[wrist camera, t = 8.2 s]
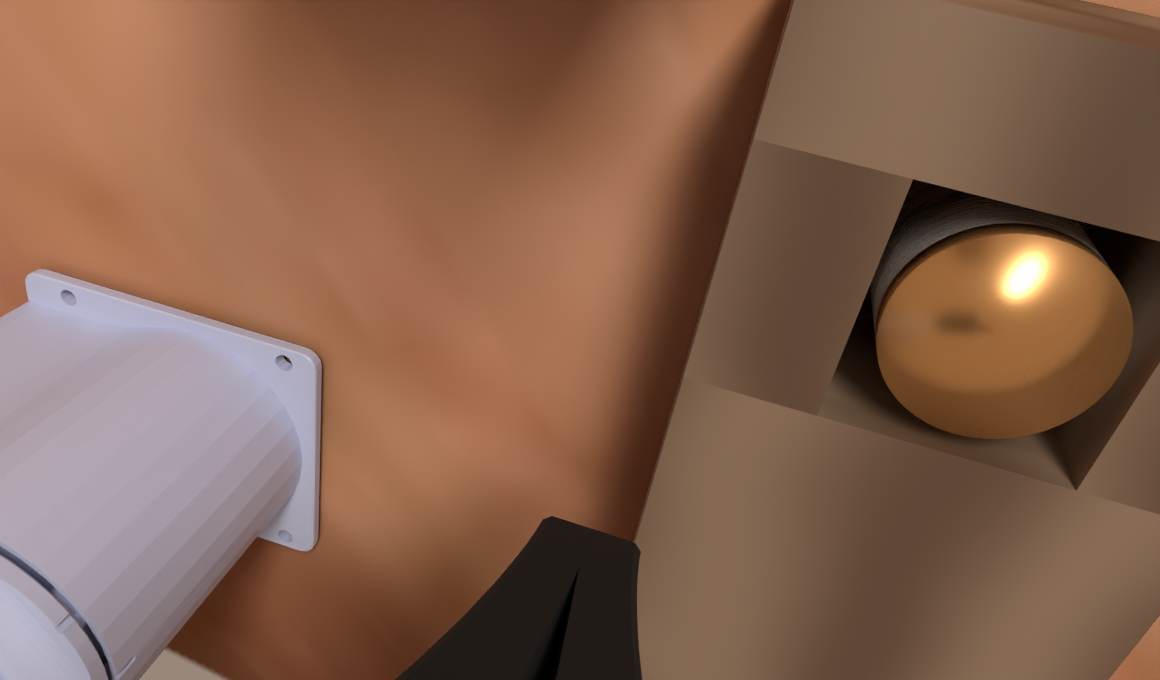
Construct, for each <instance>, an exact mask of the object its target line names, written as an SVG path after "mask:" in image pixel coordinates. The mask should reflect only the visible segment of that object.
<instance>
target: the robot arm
mask: <svg viewBox="0 0 1160 680" xmlns="http://www.w3.org/2000/svg"><path fill="white" fill-rule="evenodd" d="M25 284H26V290H27V295H28V300H29V302H27V303H25V304H23V305H21V306H20V307H18V308H16V309H14V310H13V311H11V312H9V313H7V314H5V315H4V316H2V317H0V680H139V679H140V678H141V676H142V675H143V674H144V673H145V672H146V670H147V669H148V668H149V667H150V666H151V664H152V663H153V662H154V661H155V660H156V658H157V657H158V656H159V655H160V654H161V652H162V651H163V650H164V649H165V647H166V646H167V645H168V644H169V643H170V641H171V640H172V639H173V638H174V637H175V635H176V634H177V633H178V632H179V631H180V629H181V628H182V627H183V626H184V624H185V623H186V622H187V621H188V620H189V618H190V617H191V616H192V615H193V614H194V612H195V611H196V610H197V609H198V608H199V606H200V605H201V604H202V603H203V602H204V600H205V599H206V598H207V597H208V595H209V594H210V593H211V592H212V591H213V589H214V588H215V587H216V586H217V585H218V583H219V582H220V581H221V580H222V579H223V577H224V576H225V575H226V574H227V572H228V571H229V570H230V569H231V568H232V566H233V565H234V564H235V563H236V562H237V560H238V559H239V558H240V557H241V556H242V554H243V553H244V552H245V551H246V550H247V548H248V547H249V546H250V545H251V543H252V542H253V541H254V540H255V539H256V537H260V538H263V539H266V540H269V541H272V542H275V543H278V544H281V545H284V546H287V547H290V548H293V549H296V550H299V551H310V550H311V549H312V548H313V547H314V546H315V544H316V543H317V541H318V528H319V479H320V431H321V383H322V365H321V360H320V359H319V357H318V355H317V354H316V353H314V352H313V351H312V350H310V349H308V348H306V347H303V346H299V345H296V344H293V343H289V342H286V341H283V340H279V339H276V338H272V337H269V336H266V335H262V334H259V333H256V332H252V331H249V330H246V329H242V328H239V327H236V326H232V325H229V324H226V323H222V322H219V321H216V320H212V319H209V318H206V317H202V316H199V315H196V314H192V313H189V312H186V311H182V310H179V309H176V308H172V307H169V306H166V305H162V304H159V303H156V302H152V301H149V300H146V299H142V298H139V297H136V296H132V295H129V294H126V293H122V292H119V291H116V290H112V289H109V288H106V287H102V286H99V285H96V284H92V283H89V282H86V281H82V280H79V279H76V278H72V277H69V276H66V275H62V274H59V273H56V272H52V271H49V270H46V269H38V270H36V271H34V272H32V273H30V274H28V275H27V277H26V279H25ZM72 293H73V294H72ZM283 355H284V356H286V357H288V358H289V359H290V361H291V362H292V364H291V363H289V362H287V361H286V360H285V359H284V357H283ZM640 554H641V551H640V549H639V548H638V546H637V545H636V543H633V542H630V541H627V540H624V539H621V538H618V537H615V536H612V535H609V534H606V533H603V532H600V531H596V530H593V529H590V528H587V527H584V526H581V525H578V524H575V523H572V522H569V521H566V520H562V519H559V518H556V517H553V516H551V517H548V518H546V519H543V520H542V522H541V524H540V525H539V527H538V528H537V530H536V532H535V533H534V535H533V536H532V537H531V539H530V540H529V542H528V543H527V544H526V546H525V547H524V548H523V550H522V551H521V552H520V553H519V555H518V556H517V557H516V558H515V560H514V561H513V562H512V563H511V565H510V566H509V567H508V568H507V569H506V570H505V572H504V573H503V574H502V575H501V576H500V578H499V579H498V580H497V581H496V582H495V583H494V584H493V585H492V586H491V588H490V589H489V590H488V591H487V592H486V593H485V594H484V595H483V596H482V597H481V598H480V599H479V600H478V601H477V603H476V604H475V605H474V606H473V607H472V608H471V609H470V610H469V611H468V612H467V613H466V614H465V615H464V616H463V617H462V618H461V619H460V620H459V621H458V622H457V623H456V624H455V625H454V626H453V627H452V628H451V629H450V630H449V631H448V632H447V633H446V634H445V635H444V636H443V637H442V638H441V639H439V640H438V641H437V642H436V643H435V644H434V645H433V646H432V647H431V648H430V649H429V650H428V651H427V652H426V653H425V654H424V655H423V656H421V657H420V658H419V659H418V660H417V661H416V662H415V663H414V664H413V665H412V666H410V667H409V668H408V669H407V670H406V671H405V672H403V673H402V674H401V675H400V676H399V677H398V678H397V679H395V680H642V673H641V663H640V653H639V641H638V621H637V582H638V569H639V560H640Z"/></svg>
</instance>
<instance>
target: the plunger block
mask: <svg viewBox="0 0 1160 680" xmlns="http://www.w3.org/2000/svg"><path fill="white" fill-rule="evenodd" d="M913 179H915V180H919V181H923V182H927V183H930V184H934V185H938V186H942V187H946V188H950V189H954V190H958V191H962V192H966V193H970V194H974V195H978V196H982V197H986V198H990V199H994V200H998V201H1002V202H1006V203H1010V204H1014V205H1018V206H1022V207H1026V208H1030V209H1034V210H1037V211H1041V212H1045V213H1049V214H1053V215H1057V216H1061V217H1065V218H1069V219H1073V220H1077V221H1081V222H1085V223H1089V224H1093V227H1092V229H1091V231H1090V232H1089V234H1088V237H1089V238H1090V240H1091V241H1092V243H1093V244H1094V246H1095V247H1096V248H1097V250H1098V251H1099V253H1100V254H1101V256H1102V257H1103V259H1104V260H1105V262H1106V263H1107V265H1108V266H1109V268H1110V269H1111V270H1112V272H1113V273H1114V275H1115V276H1116V278H1117V279H1118V281H1119V282H1120V284H1121V286H1122V288H1123V289H1124V291H1125V293H1126V295H1127V298H1128V300H1129V303H1130V306H1131V310H1132V316H1133V340H1132V346H1131V350H1130V353H1129V356H1128V359H1127V362H1126V364H1125V366H1124V368H1123V370H1122V371H1121V373H1120V375H1119V377H1118V378H1117V379H1116V381H1115V382H1114V384H1113V385H1112V386H1111V388H1110V389H1109V390H1108V391H1107V392H1106V393H1105V394H1104V395H1103V396H1102V397H1101V398H1100V399H1099V400H1098V401H1097V402H1096V403H1094V404H1093V405H1092V406H1091V407H1090V408H1088V409H1087V410H1086V411H1084V412H1083V413H1081V414H1079V415H1078V416H1076V417H1075V418H1073V419H1071V420H1069V421H1067V422H1065V423H1063V424H1061V425H1059V426H1056V427H1054V428H1051V429H1049V430H1046V431H1043V432H1039V433H1036V434H1032V435H1027V436H1022V437H1016V438H1005V439H981V438H973V437H966V436H961V435H957V434H953V433H950V432H947V431H944V430H941V429H938V428H936V427H934V426H932V425H930V424H928V423H926V422H924V421H923V420H921V419H919V418H918V417H916V416H915V415H913V414H912V413H911V412H910V411H908V410H907V409H906V408H905V407H904V406H903V405H902V404H901V403H900V402H899V401H898V400H897V399H896V398H895V396H894V395H893V394H892V392H891V391H890V389H889V388H888V386H887V384H886V382H885V380H884V378H883V376H882V373H881V370H880V367H879V364H878V357H877V350H876V340H875V331H874V321H873V314H872V313H868V312H864V311H861V310H860V308H861V306H862V304H863V301H864V299H865V296H866V294H867V291H868V289H869V286H870V284H871V281H872V279H873V277H874V274H875V272H876V269H877V267H878V264H879V262H880V259H881V257H882V254H883V252H884V250H885V247H886V245H887V242H888V240H889V237H890V235H891V232H892V230H893V227H894V225H895V223H896V220H897V218H898V215H899V213H900V210H901V208H902V205H903V203H904V200H905V198H906V195H907V193H908V191H909V188H910V186H911V183H912V181H913ZM633 543H636V545H637V546H638V548H639V549H640V551H641V554H640V560H639V569H638V582H637V621H638V641H639V653H640V663H641V673H642V680H1109V678H1110V677H1111V676H1112V675H1113V673H1114V672H1115V671H1116V670H1117V668H1118V667H1119V666H1120V665H1121V663H1122V662H1123V661H1124V660H1125V658H1126V657H1127V656H1128V655H1129V653H1130V652H1131V651H1132V650H1133V648H1134V647H1135V646H1136V645H1137V643H1138V642H1139V641H1140V640H1141V638H1142V637H1143V636H1144V635H1145V633H1146V632H1147V631H1148V630H1149V628H1150V627H1151V626H1152V624H1153V623H1154V622H1155V621H1156V619H1157V618H1158V617H1159V616H1160V18H1157V17H1153V16H1148V15H1144V14H1139V13H1135V12H1130V11H1126V10H1121V9H1117V8H1112V7H1108V6H1103V5H1099V4H1094V3H1090V2H1085V1H1081V0H791V2H790V6H789V9H788V13H787V16H786V19H785V23H784V26H783V30H782V33H781V36H780V40H779V43H778V47H777V50H776V54H775V57H774V60H773V64H772V67H771V71H770V74H769V78H768V81H767V84H766V88H765V91H764V95H763V98H762V101H761V105H760V108H759V112H758V115H757V119H756V122H755V125H754V129H753V132H752V136H751V139H750V142H749V146H748V149H747V153H746V156H745V160H744V163H743V166H742V170H741V173H740V177H739V180H738V183H737V187H736V190H735V194H734V197H733V201H732V204H731V207H730V211H729V214H728V218H727V221H726V225H725V228H724V231H723V235H722V238H721V242H720V245H719V248H718V252H717V255H716V259H715V262H714V266H713V269H712V272H711V276H710V279H709V283H708V286H707V289H706V293H705V296H704V300H703V303H702V307H701V310H700V313H699V317H698V320H697V324H696V327H695V331H694V334H693V337H692V341H691V344H690V348H689V351H688V354H687V358H686V361H685V365H684V368H683V372H682V375H681V378H680V382H679V385H678V389H677V392H676V395H675V399H674V402H673V406H672V409H671V413H670V416H669V419H668V423H667V426H666V430H665V433H664V436H663V440H662V443H661V447H660V450H659V454H658V457H657V460H656V464H655V467H654V471H653V474H652V478H651V481H650V484H649V488H648V491H647V495H646V498H645V501H644V505H643V508H642V512H641V515H640V519H639V522H638V525H637V529H636V532H635V536H634V539H633Z"/></svg>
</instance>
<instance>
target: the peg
mask: <svg viewBox="0 0 1160 680" xmlns="http://www.w3.org/2000/svg"><path fill="white" fill-rule="evenodd" d="M870 292H871V302H872V311H873V321H874V331H875V340H876V350H877V357H878V364H879V367H880V370H881V373H882V376H883V378H884V380H885V382H886V384H887V386H888V388H889V389H890V391H891V392H892V394H893V395H894V396H895V398H896V399H897V400H898V401H899V402H900V403H901V404H902V405H903V406H904V407H905V408H906V409H907V410H908V411H910V412H911V413H912V414H913V415H915V416H916V417H918V418H919V419H921V420H923V421H924V422H926V423H928V424H930V425H932V426H934V427H936V428H938V429H941V430H944V431H947V432H950V433H953V434H957V435H961V436H966V437H973V438H981V439H1005V438H1016V437H1022V436H1027V435H1032V434H1036V433H1039V432H1043V431H1046V430H1049V429H1051V428H1054V427H1056V426H1059V425H1061V424H1063V423H1065V422H1067V421H1069V420H1071V419H1073V418H1075V417H1076V416H1078V415H1079V414H1081V413H1083V412H1084V411H1086V410H1087V409H1088V408H1090V407H1091V406H1092V405H1093V404H1094V403H1096V402H1097V401H1098V400H1099V399H1100V398H1101V397H1102V396H1103V395H1104V394H1105V393H1106V392H1107V391H1108V390H1109V389H1110V388H1111V386H1112V385H1113V384H1114V382H1115V381H1116V379H1117V378H1118V377H1119V375H1120V373H1121V371H1122V370H1123V368H1124V366H1125V364H1126V362H1127V359H1128V356H1129V353H1130V350H1131V346H1132V340H1133V316H1132V310H1131V306H1130V303H1129V300H1128V298H1127V295H1126V293H1125V291H1124V289H1123V288H1122V286H1121V284H1120V282H1119V281H1118V279H1117V278H1116V276H1115V275H1114V273H1113V272H1112V270H1111V269H1110V268H1109V266H1108V265H1107V263H1106V262H1105V260H1104V259H1103V257H1102V256H1101V254H1100V253H1099V251H1098V250H1097V248H1096V247H1095V246H1094V244H1093V243H1092V241H1091V240H1090V238H1089V237H1088V235H1087V234H1086V232H1085V231H1084V229H1083V228H1082V226H1081V225H1080V224H1079V222H1078V221H1077V220H1073V219H1069V218H1065V217H1061V216H1057V215H1053V214H1049V213H1045V212H1041V211H1037V210H1034V209H1030V208H1026V207H1022V206H1018V205H1014V204H1010V203H1006V202H1002V201H998V200H994V199H990V198H986V197H982V196H978V195H974V194H970V193H966V192H962V191H958V190H954V189H950V188H946V187H942V186H938V185H934V184H930V183H927V182H923V181H919V180H915V179H913V181H912V183H911V186H910V188H909V191H908V193H907V195H906V198H905V200H904V203H903V205H902V208H901V210H900V213H899V215H898V218H897V220H896V223H895V225H894V227H893V230H892V232H891V235H890V237H889V240H888V242H887V245H886V247H885V250H884V252H883V254H882V257H881V259H880V262H879V264H878V267H877V269H876V272H875V274H874V277H873V279H872V281H871V284H870Z"/></svg>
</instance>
